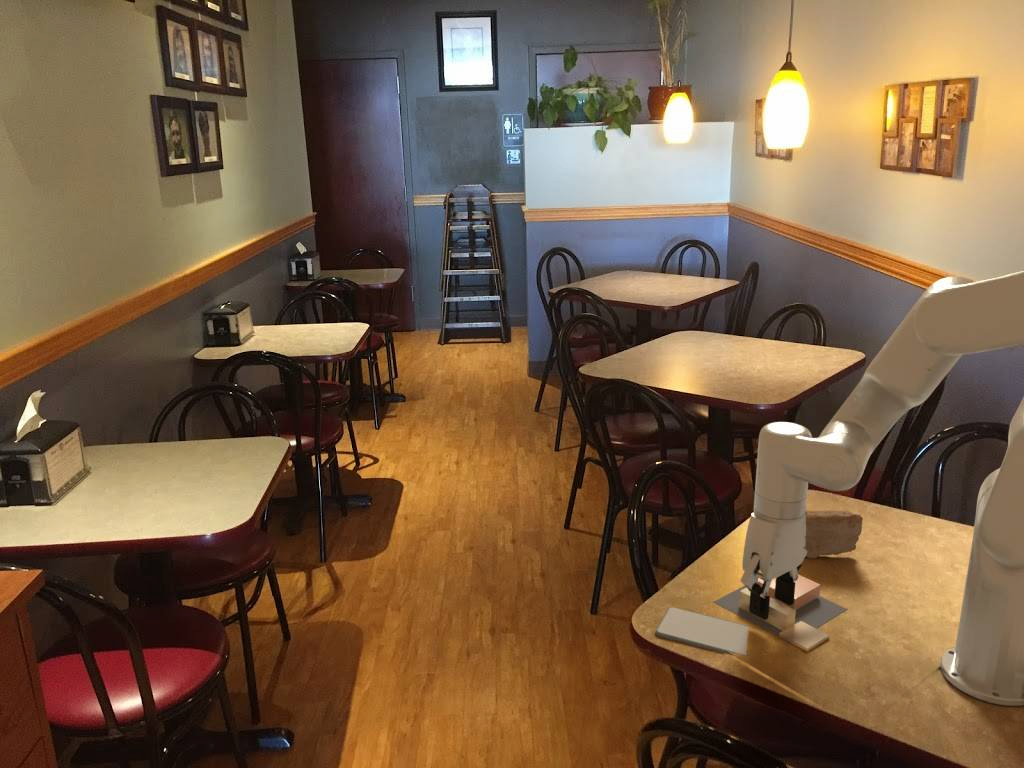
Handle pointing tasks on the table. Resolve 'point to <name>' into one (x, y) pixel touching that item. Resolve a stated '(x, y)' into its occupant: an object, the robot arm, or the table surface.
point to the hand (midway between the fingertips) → (771, 607)
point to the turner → (787, 623)
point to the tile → (797, 591)
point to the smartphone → (704, 631)
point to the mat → (809, 614)
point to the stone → (831, 532)
